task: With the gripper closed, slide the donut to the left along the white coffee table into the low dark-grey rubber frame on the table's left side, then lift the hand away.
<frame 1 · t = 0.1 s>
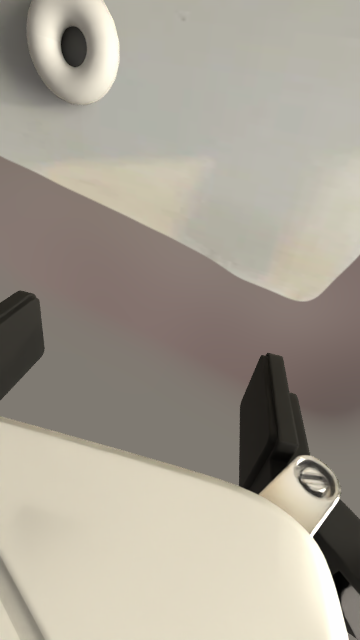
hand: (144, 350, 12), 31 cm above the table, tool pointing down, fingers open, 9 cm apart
donut: (81, 51, 32), on the table
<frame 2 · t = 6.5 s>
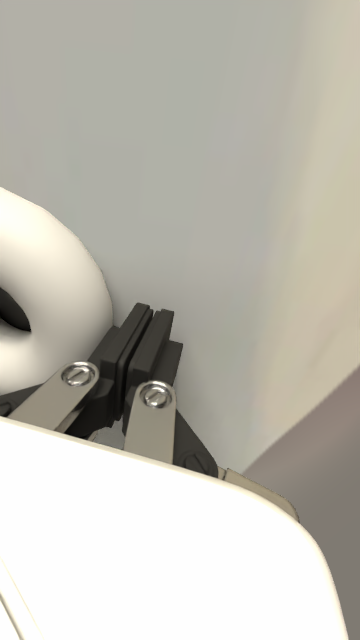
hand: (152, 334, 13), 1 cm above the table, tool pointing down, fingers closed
donut: (28, 288, 14), on the table, touching gripper
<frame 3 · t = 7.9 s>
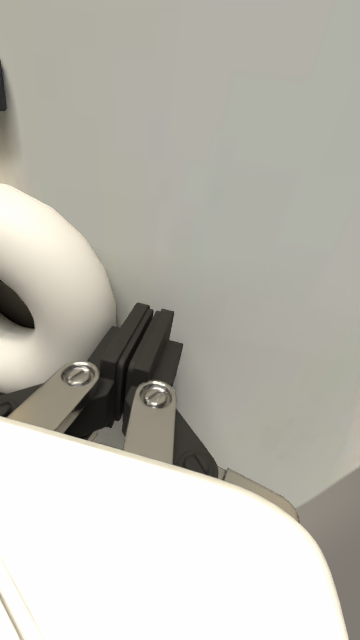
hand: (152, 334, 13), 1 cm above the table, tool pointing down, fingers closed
donut: (31, 285, 14), on the table, touching gripper
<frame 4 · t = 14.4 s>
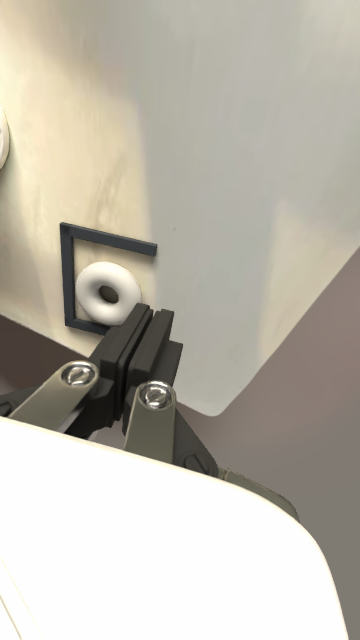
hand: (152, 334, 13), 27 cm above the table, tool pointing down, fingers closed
donut: (113, 289, 44), on the table
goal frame: (111, 289, 44), on the table
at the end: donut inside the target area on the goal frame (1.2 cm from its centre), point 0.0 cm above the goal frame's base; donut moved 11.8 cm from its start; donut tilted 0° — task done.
